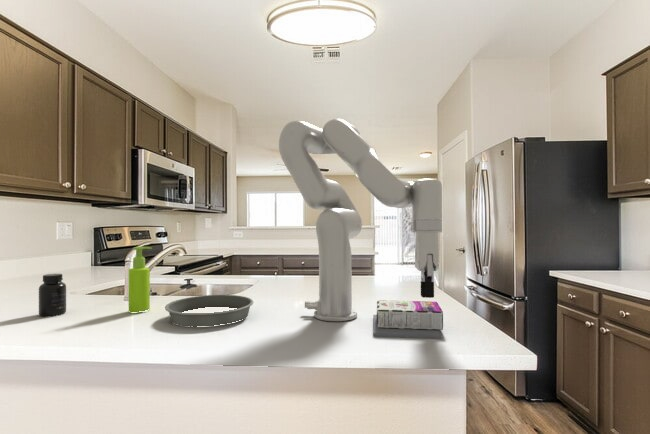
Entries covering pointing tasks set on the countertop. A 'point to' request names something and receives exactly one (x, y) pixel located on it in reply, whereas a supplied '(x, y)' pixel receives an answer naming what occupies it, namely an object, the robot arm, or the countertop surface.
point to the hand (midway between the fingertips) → (427, 296)
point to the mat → (404, 332)
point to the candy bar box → (409, 315)
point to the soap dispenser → (139, 283)
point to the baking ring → (209, 318)
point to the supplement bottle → (52, 296)
